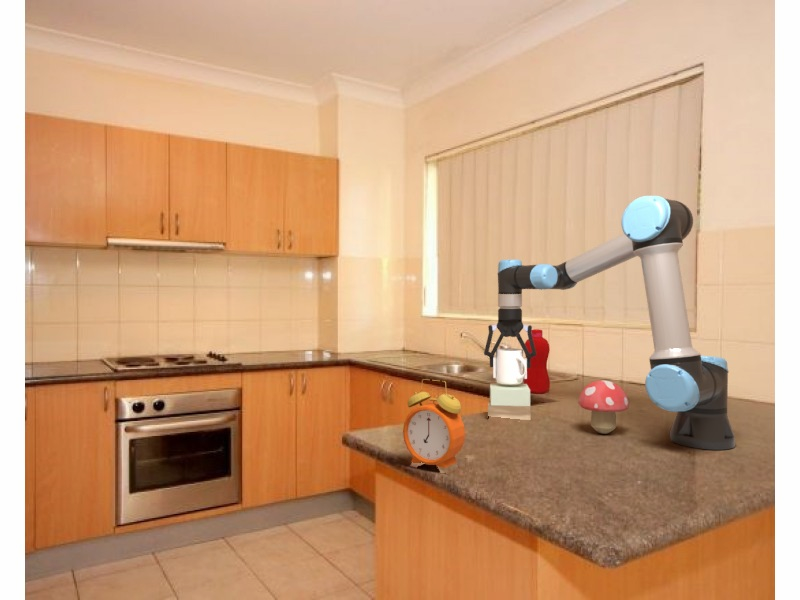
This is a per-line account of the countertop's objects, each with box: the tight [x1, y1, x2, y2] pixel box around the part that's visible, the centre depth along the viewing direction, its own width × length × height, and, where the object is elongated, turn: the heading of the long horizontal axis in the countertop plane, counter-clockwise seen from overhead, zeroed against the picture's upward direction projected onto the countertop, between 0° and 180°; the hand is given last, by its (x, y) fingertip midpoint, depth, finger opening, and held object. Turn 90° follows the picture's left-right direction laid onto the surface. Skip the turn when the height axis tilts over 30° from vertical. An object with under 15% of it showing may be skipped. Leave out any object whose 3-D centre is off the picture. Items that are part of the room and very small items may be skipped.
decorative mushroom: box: [578, 379, 630, 435], centre depth 158 cm, size 13×13×15 cm
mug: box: [495, 347, 526, 385], centre depth 180 cm, size 9×12×11 cm
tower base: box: [487, 399, 532, 420], centre depth 180 cm, size 13×13×5 cm
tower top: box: [489, 382, 531, 407], centre depth 180 cm, size 12×12×5 cm
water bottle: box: [523, 328, 551, 395], centre depth 225 cm, size 9×11×25 cm
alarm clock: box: [402, 378, 466, 468], centre depth 128 cm, size 13×6×20 cm, turn 56°
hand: (510, 377), depth 180 cm, fingers closed on mug, 9 cm apart
